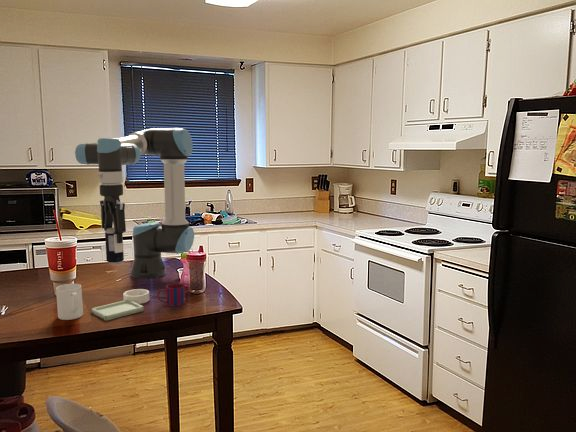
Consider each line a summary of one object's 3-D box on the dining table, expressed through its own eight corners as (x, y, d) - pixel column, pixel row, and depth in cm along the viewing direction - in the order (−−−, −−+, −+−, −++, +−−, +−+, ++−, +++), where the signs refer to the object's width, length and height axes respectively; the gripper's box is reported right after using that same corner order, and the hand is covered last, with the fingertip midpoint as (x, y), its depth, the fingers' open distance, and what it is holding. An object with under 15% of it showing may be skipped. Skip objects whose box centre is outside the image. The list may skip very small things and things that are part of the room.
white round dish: (141, 295, 199) (141, 287, 198) (154, 300, 192) (153, 292, 192) (119, 300, 192) (118, 292, 192) (131, 306, 186) (130, 298, 185)
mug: (55, 315, 176) (53, 286, 174) (78, 310, 181) (77, 282, 179) (65, 325, 166) (63, 294, 165) (90, 320, 171) (88, 290, 170)
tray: (128, 303, 188) (128, 299, 188) (143, 310, 181) (143, 306, 180) (91, 312, 179) (91, 308, 178) (105, 320, 171) (105, 316, 171)
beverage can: (127, 261, 179) (125, 227, 177) (118, 265, 174) (116, 230, 172) (112, 260, 180) (110, 227, 178) (103, 264, 175) (101, 230, 173)
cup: (186, 305, 187) (186, 287, 186) (158, 308, 183) (158, 290, 182) (183, 299, 193) (182, 282, 192) (156, 303, 189) (155, 285, 188)
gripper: (88, 182, 177) (92, 248, 180) (113, 186, 164) (117, 256, 167) (109, 181, 182) (112, 245, 185) (134, 185, 169) (138, 253, 172)
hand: (114, 250), depth 176 cm, fingers closed on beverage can, 6 cm apart
